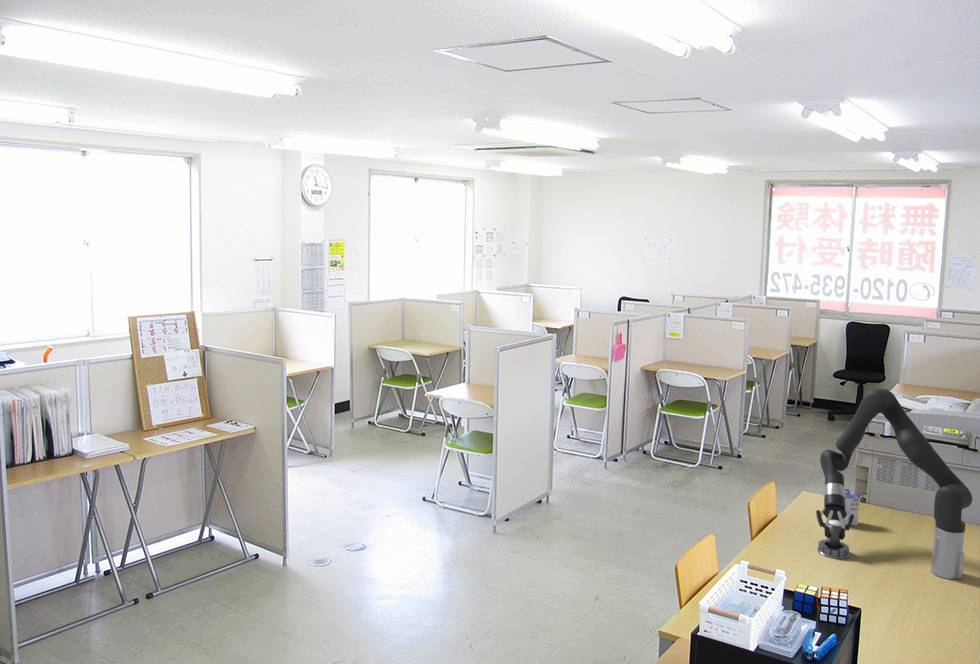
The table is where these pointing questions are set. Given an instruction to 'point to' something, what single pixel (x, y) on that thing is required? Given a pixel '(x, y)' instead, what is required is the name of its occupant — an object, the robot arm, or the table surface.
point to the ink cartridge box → (851, 507)
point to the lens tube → (834, 534)
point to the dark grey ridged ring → (833, 550)
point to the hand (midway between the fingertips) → (834, 538)
